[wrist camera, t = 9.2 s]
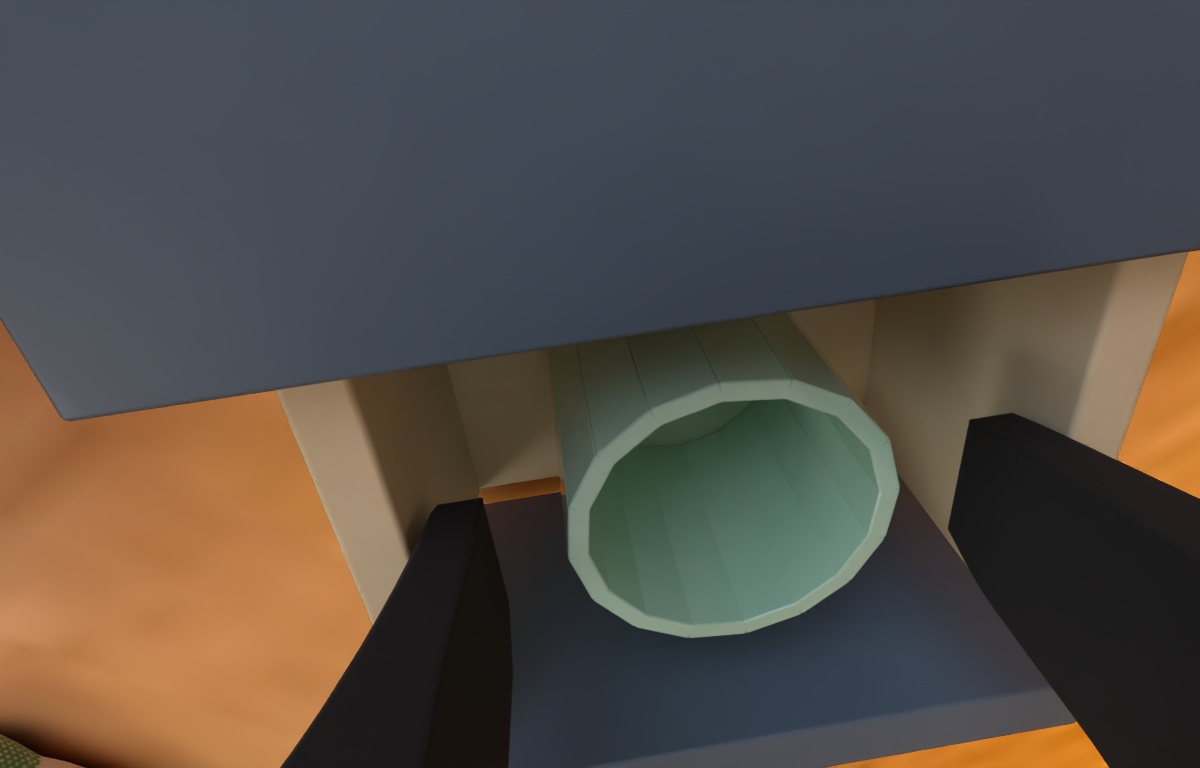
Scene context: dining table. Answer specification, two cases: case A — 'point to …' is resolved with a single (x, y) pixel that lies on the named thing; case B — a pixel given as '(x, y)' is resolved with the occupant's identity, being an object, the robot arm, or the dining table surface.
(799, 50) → the cabinet
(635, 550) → the pale green cup
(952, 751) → the dining table surface
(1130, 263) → the drawer
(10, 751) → the dish towel
